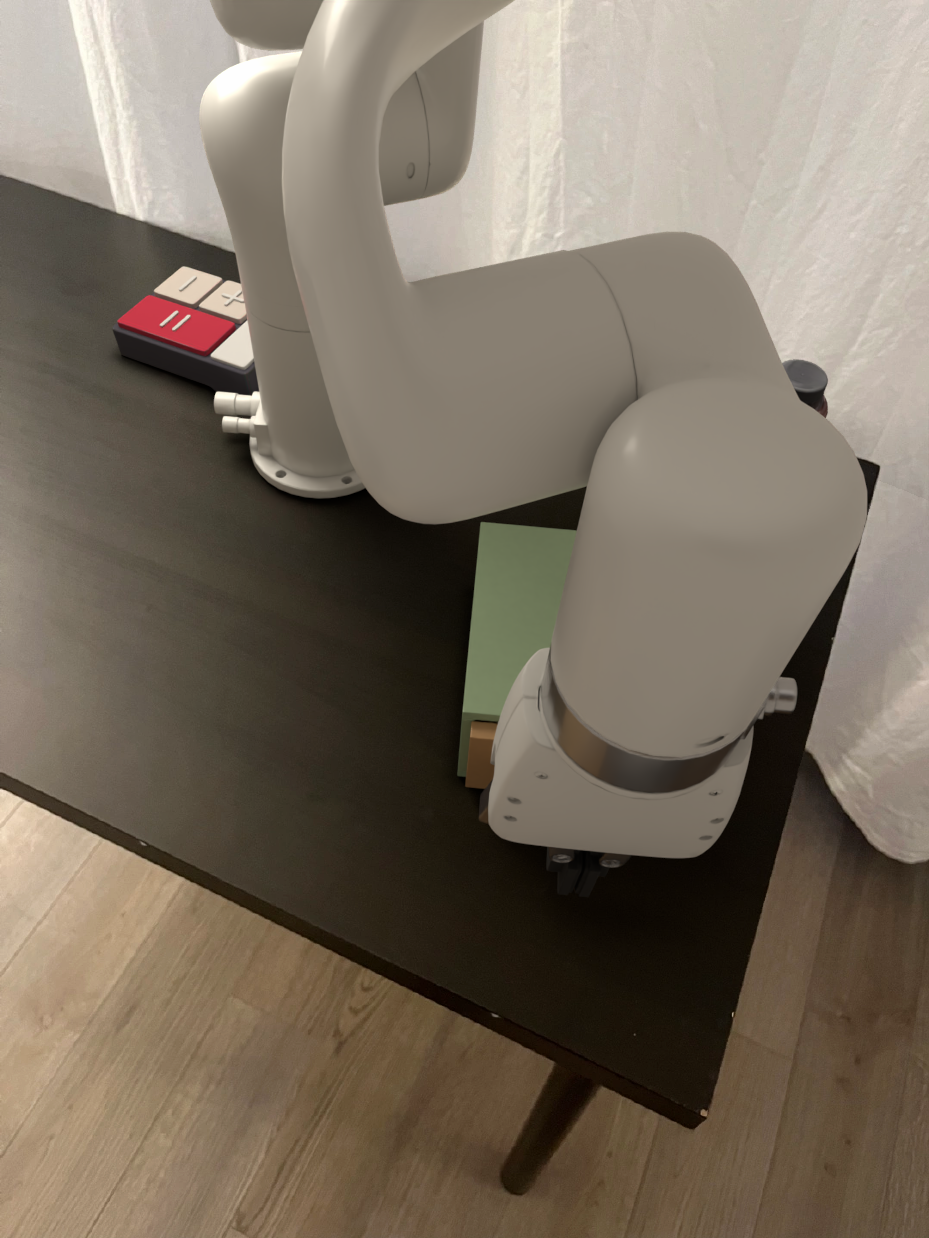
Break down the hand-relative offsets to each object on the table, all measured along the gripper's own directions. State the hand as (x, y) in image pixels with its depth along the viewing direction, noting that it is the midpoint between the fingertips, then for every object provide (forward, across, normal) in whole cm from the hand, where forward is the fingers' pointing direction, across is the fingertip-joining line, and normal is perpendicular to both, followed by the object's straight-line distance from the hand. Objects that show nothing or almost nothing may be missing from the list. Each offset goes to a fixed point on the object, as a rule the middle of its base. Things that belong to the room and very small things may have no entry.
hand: (573, 867), depth 50 cm
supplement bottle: (+12, -17, -41) cm, 46 cm away
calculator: (+13, +33, -52) cm, 63 cm away
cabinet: (+12, 0, -18) cm, 21 cm away
